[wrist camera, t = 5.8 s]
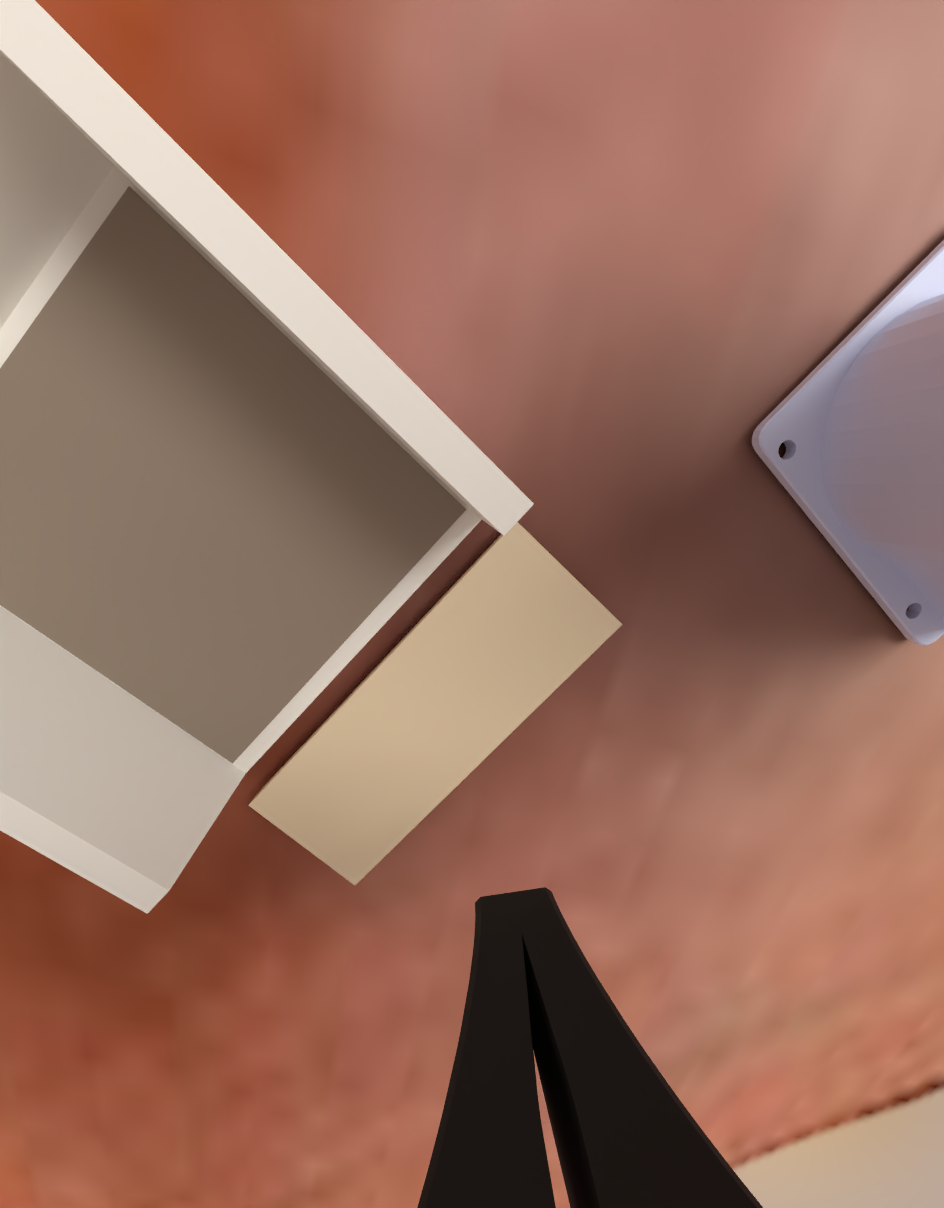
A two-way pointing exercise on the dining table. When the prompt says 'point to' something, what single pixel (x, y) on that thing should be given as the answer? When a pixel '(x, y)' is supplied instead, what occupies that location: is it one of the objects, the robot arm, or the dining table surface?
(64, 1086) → the dining table surface
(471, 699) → the flap
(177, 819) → the carton
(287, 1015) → the dining table surface
